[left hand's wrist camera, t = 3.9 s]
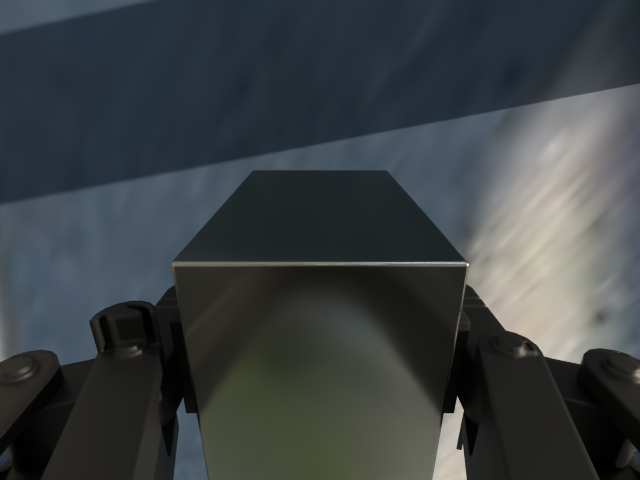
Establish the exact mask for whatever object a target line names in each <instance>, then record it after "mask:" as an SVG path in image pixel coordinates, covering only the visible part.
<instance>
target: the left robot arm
mask: <svg viewBox="0 0 640 480" xmlns="http://www.w3.org/2000/svg"><path fill="white" fill-rule="evenodd" d="M89 322H90V326H91V329H92V333H93V336H94V340H95V343H96V347H97V350H98V354H97V356H96V358H95V359H91V360H87V361H82V362H77V363H72V364H67V365H62V366H60V363H59V360H58V357H57V355H56V354H54V353H53V352H52V351H46V350H37V351H29V352H24V353H21V354H17V355H14V356H12V357H10V358H8V359H6V360H4V361H2V362H0V456H1V454H2V453H3V452H4V451H5V450H6V452H7V454H8V456H9V458H8V459H7V461H6V462H5V463H4V464H3V465H2V466H1V467H0V480H173V476H174V467H175V458H176V448H177V439H178V430H179V424H178V418H177V413H176V412H177V409H178V407H179V405H180V403H181V400H182V398H184V403H185V408H186V413H197V411H196V406H195V400H194V394H193V388H192V382H191V377H190V371H189V365H188V359H187V353H186V348H185V342H184V336H183V330H182V324H181V319H180V313H179V307H178V301H177V295H176V289H175V285H174V286H172V287H171V288H169V289H168V290H167V291H166V293H165V294H164V295H163V297H162V298H161V300H159V302H158V303H157V304H156V306H154V305H152V304H151V303H149V302H145V301H128V302H123V303H119V304H115V305H113V306H110V307H108V308H105V309H104V310H102V311H100V312H99V313H97V314H95V316H94V317H93V318H92V319H91V320H90V321H89ZM457 396H458V398H459V400H460V402H461V405H462V407H463V409H464V413H463V418H462V423H461V428H460V433H459V438H458V443H457V449H459V450H462V445H463V448H464V457H465V466H466V475H467V480H640V465H639V464H638V463H637V462H636V460H635V459H634V458H633V457H632V455H633V452H634V450H635V448H636V449H637V450H638V451H639V452H640V360H638V359H636V358H634V357H632V356H630V355H628V354H626V353H623V352H619V351H615V350H609V349H601V348H598V349H591V350H588V351H587V352H586V353H584V355H583V358H582V361H581V364H576V363H571V362H566V361H561V360H556V359H551V358H548V357H544V356H543V354H542V352H541V350H540V349H539V348H538V346H537V345H536V344H534V343H533V342H532V341H530V340H529V339H527V338H526V337H523V336H521V335H519V334H517V333H513V332H509V331H506V330H505V329H504V328H503V327H502V325H501V324H500V323H499V321H498V320H497V319H496V318H495V316H494V315H493V314H492V313H491V311H490V310H489V309H488V307H486V305H485V304H484V302H483V301H482V300H481V299H480V297H479V296H478V295H477V293H476V292H475V291H474V290H473V288H471V287H470V286H468V285H467V284H466V287H465V292H464V298H463V304H462V310H461V316H460V321H459V327H458V333H457V339H456V344H455V350H454V356H453V362H452V368H451V373H450V379H449V385H448V391H447V397H446V402H445V408H444V413H454V410H455V404H456V399H457Z"/></svg>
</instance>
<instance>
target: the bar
mask: <svg viewBox="0 0 640 480" xmlns="http://www.w3.org/2000/svg"><path fill="white" fill-rule="evenodd" d="M171 266H172V272H173V278H174V284H175V289H176V295H177V301H178V307H179V313H180V319H181V324H182V330H183V336H184V342H185V348H186V353H187V359H188V365H189V371H190V377H191V382H192V388H193V394H194V400H195V406H196V411H197V417H198V423H199V429H200V435H201V440H202V446H203V452H204V458H205V464H206V470H207V475H208V480H432V477H433V472H434V466H435V460H436V454H437V449H438V443H439V437H440V431H441V425H442V420H443V414H444V408H445V402H446V397H447V391H448V385H449V379H450V373H451V368H452V362H453V356H454V350H455V344H456V339H457V333H458V327H459V321H460V316H461V310H462V304H463V298H464V292H465V287H466V281H467V275H468V269H469V263H468V261H467V260H466V259H465V258H464V256H463V255H462V254H461V253H460V252H459V251H458V250H457V249H456V247H455V246H454V245H453V244H452V243H451V242H450V241H449V240H448V238H447V237H446V236H445V235H444V234H443V233H442V232H441V231H440V229H439V228H438V227H437V226H436V225H435V224H434V223H433V222H432V220H431V219H430V218H429V217H428V216H427V215H426V214H425V213H424V211H423V210H422V209H421V208H420V207H419V206H418V205H417V204H416V202H415V201H414V200H413V199H412V198H411V197H410V196H409V195H408V193H407V192H406V191H405V190H404V189H403V188H402V187H401V186H400V184H399V183H398V182H397V181H396V180H395V179H394V178H393V177H392V175H391V174H390V173H389V172H388V171H386V170H254V171H252V172H251V173H250V175H249V176H248V177H247V178H246V179H245V180H244V181H243V183H242V184H241V185H240V186H239V187H238V188H237V189H236V190H235V192H234V193H233V194H232V195H231V196H230V197H229V198H228V199H227V201H226V202H225V203H224V204H223V205H222V206H221V207H220V208H219V210H218V211H217V212H216V213H215V214H214V215H213V216H212V217H211V219H210V220H209V221H208V222H207V223H206V224H205V225H204V227H203V228H202V229H201V230H200V231H199V232H198V233H197V234H196V236H195V237H194V238H193V239H192V240H191V241H190V242H189V243H188V245H187V246H186V247H185V248H184V249H183V250H182V251H181V252H180V254H179V255H178V256H177V257H176V258H175V259H174V260H173V261H172V264H171Z"/></svg>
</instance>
